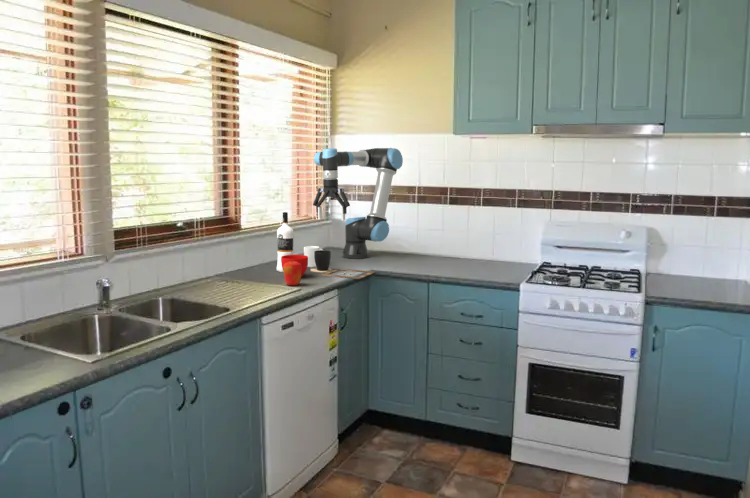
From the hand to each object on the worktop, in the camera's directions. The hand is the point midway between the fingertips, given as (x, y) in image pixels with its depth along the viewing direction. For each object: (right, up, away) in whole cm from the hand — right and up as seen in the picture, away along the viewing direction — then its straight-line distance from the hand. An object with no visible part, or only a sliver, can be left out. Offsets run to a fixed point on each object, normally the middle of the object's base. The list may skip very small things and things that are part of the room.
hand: (331, 219), depth 325 cm
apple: (-15, -32, -41) cm, 54 cm away
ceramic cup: (-16, -29, -21) cm, 39 cm away
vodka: (-23, -27, -8) cm, 36 cm away
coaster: (-5, -26, -6) cm, 27 cm away
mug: (-5, -26, -5) cm, 27 cm away
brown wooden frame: (+9, -28, -14) cm, 32 cm away
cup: (-10, -24, +9) cm, 28 cm away
